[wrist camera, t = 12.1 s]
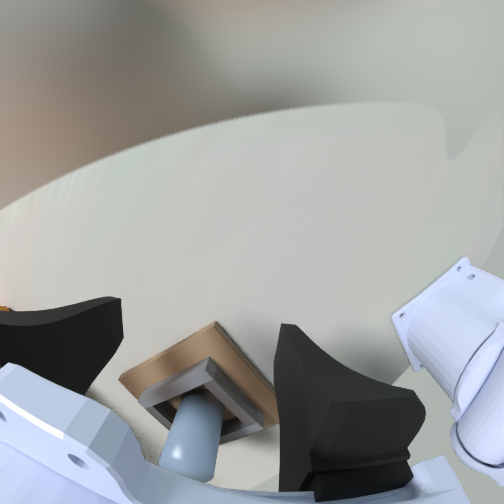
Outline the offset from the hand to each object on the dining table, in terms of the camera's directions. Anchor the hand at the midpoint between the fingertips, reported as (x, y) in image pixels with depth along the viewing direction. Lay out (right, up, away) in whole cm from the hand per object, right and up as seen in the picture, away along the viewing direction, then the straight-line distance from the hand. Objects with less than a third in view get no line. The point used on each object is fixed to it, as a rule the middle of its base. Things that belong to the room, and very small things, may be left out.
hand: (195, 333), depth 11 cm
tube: (-2, -10, +11) cm, 15 cm away
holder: (-2, -10, +12) cm, 16 cm away
